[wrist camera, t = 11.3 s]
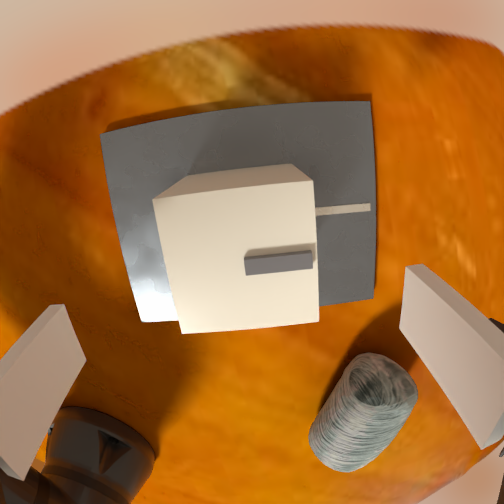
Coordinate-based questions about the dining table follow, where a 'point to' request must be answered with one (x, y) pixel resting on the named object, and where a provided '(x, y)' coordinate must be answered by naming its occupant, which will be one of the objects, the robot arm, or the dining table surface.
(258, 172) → the white drawer box
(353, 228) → the gray board
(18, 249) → the dining table surface
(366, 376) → the spool
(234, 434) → the dining table surface
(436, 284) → the robot arm
